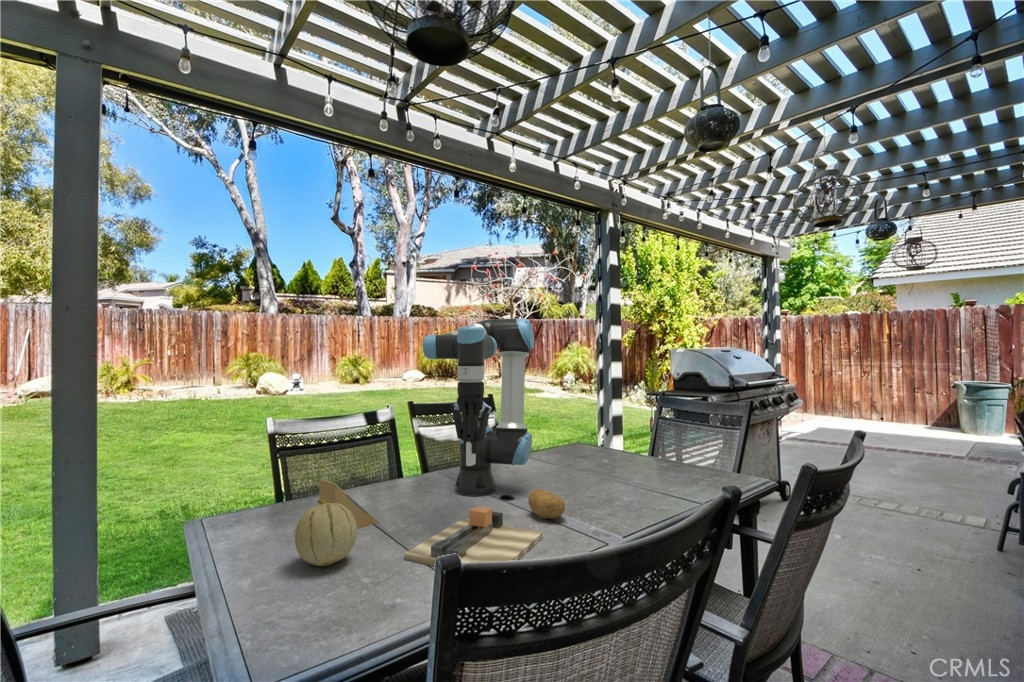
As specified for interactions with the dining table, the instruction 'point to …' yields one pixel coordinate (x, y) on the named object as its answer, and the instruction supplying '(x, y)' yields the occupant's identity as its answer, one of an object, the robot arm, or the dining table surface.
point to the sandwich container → (344, 502)
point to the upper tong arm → (469, 540)
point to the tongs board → (490, 548)
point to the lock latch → (480, 516)
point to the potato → (546, 504)
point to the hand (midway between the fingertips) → (470, 464)
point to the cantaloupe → (325, 533)
